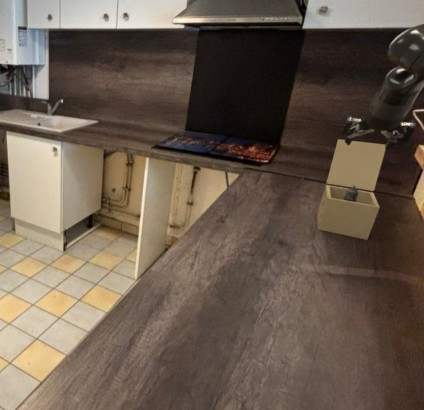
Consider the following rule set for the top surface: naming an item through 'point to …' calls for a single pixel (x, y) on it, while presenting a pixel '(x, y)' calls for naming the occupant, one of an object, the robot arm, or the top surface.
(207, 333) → the top surface
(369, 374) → the top surface
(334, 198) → the tan open box
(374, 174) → the lid
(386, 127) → the robot arm
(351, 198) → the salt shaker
